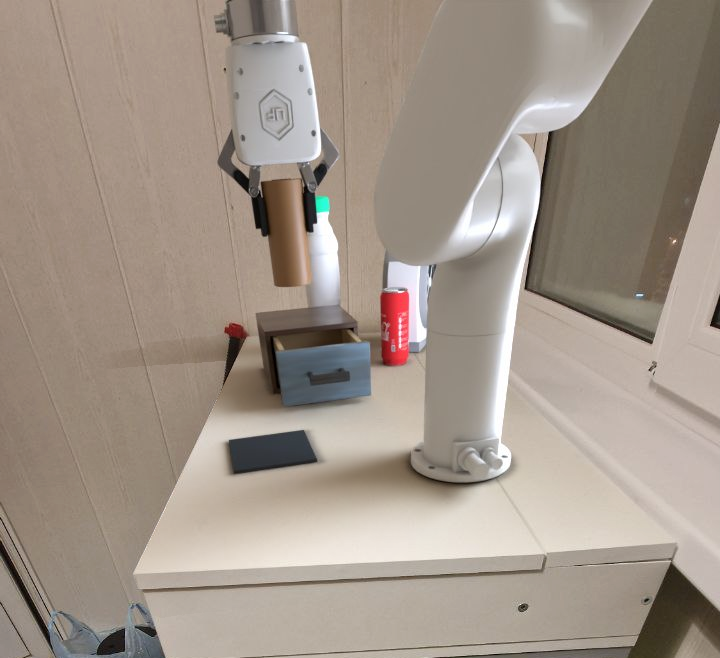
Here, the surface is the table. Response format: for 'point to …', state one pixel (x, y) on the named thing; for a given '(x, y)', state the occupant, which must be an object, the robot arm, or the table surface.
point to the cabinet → (297, 329)
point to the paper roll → (287, 232)
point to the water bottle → (323, 260)
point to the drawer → (321, 366)
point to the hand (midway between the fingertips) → (287, 232)
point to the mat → (271, 451)
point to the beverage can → (394, 325)
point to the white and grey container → (411, 295)
